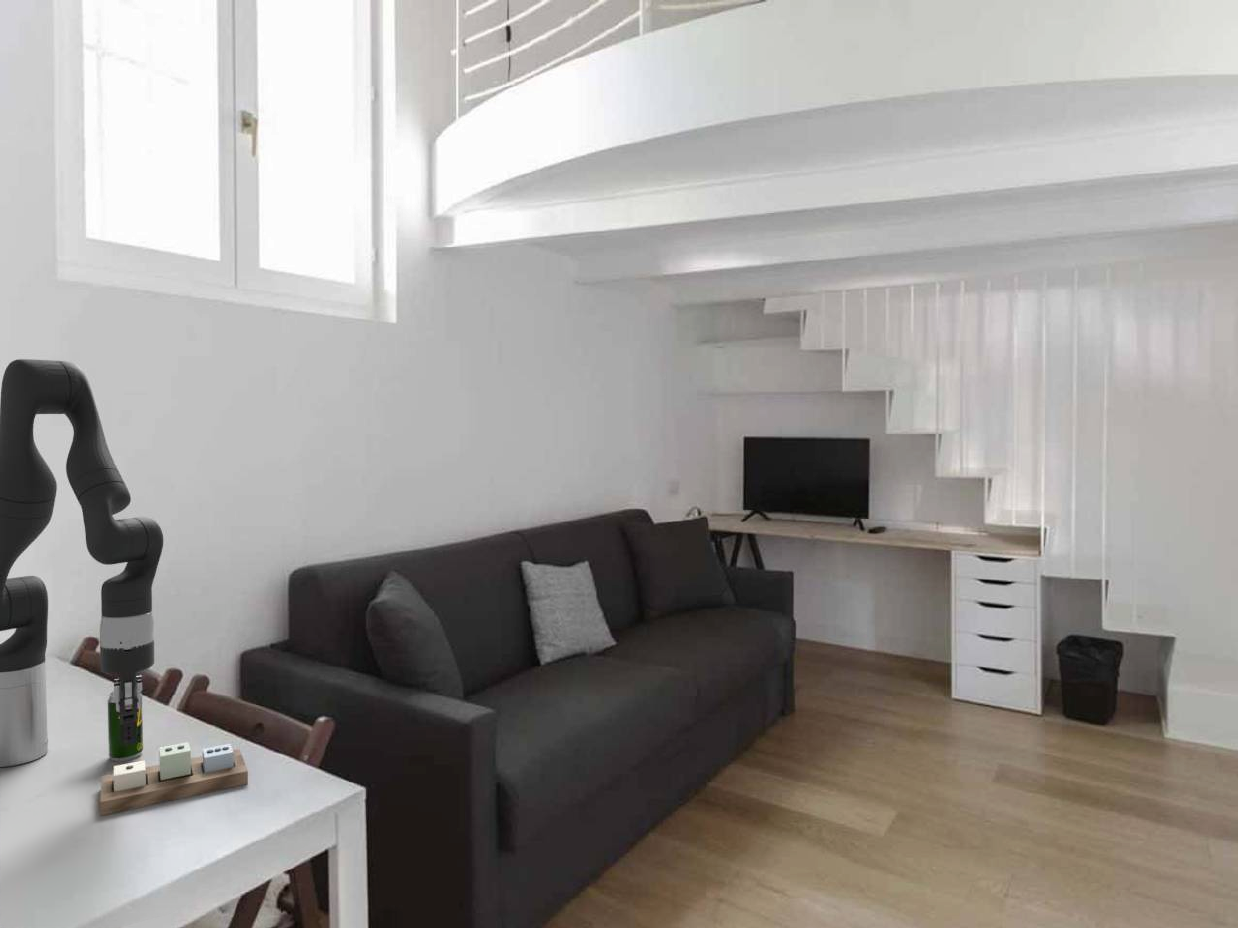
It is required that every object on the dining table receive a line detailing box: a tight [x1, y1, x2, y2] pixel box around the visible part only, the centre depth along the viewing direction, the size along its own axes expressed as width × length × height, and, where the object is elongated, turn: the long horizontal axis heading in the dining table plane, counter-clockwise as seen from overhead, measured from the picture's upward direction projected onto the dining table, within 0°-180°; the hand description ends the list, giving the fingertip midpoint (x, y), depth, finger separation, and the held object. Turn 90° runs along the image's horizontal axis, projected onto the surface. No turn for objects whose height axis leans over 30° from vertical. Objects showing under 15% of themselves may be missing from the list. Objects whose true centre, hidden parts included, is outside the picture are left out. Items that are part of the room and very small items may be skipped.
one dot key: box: [113, 760, 146, 792], centre depth 128 cm, size 4×4×4 cm
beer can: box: [107, 689, 144, 762], centre depth 144 cm, size 5×5×12 cm
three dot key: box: [202, 743, 234, 773], centre depth 135 cm, size 4×4×4 cm
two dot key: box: [158, 741, 192, 780], centre depth 132 cm, size 4×4×4 cm
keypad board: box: [99, 748, 249, 817], centre depth 132 cm, size 21×11×2 cm, turn 123°
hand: (128, 743), depth 128 cm, fingers closed
